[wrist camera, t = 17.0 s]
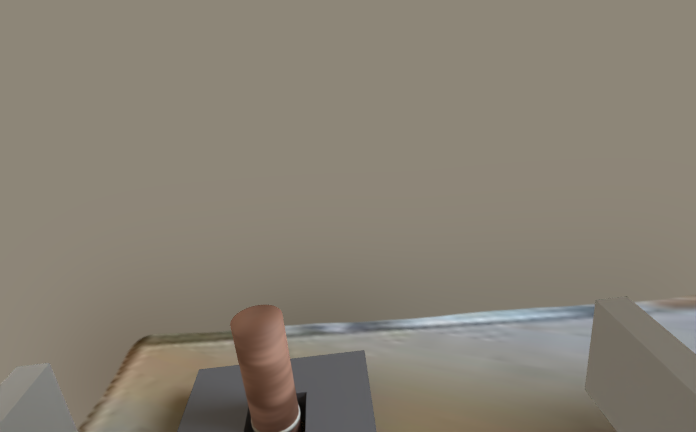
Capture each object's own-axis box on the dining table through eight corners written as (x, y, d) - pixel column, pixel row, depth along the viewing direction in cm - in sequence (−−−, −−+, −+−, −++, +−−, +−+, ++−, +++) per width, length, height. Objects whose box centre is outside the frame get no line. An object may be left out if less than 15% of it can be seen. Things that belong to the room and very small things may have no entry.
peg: (305, 425, 51) (285, 301, 45) (304, 464, 46) (281, 332, 40) (260, 430, 51) (234, 307, 45) (255, 470, 46) (224, 338, 40)
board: (366, 376, 57) (364, 350, 56) (387, 517, 40) (384, 484, 39) (206, 395, 57) (199, 369, 55) (159, 545, 40) (147, 514, 39)
